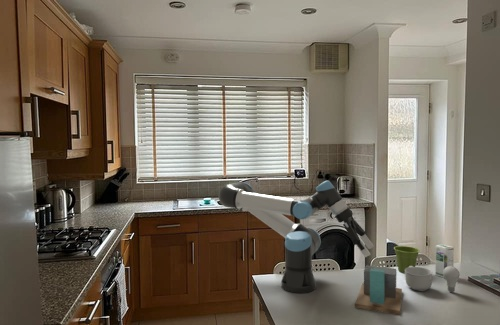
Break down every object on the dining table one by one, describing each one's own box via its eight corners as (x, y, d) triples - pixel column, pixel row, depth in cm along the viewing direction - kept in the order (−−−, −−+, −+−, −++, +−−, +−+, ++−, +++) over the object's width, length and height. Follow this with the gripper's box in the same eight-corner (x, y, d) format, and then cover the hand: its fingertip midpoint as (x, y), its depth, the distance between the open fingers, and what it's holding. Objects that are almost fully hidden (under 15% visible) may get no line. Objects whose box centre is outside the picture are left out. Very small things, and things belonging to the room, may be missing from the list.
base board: (354, 307, 137) (354, 303, 137) (362, 286, 158) (362, 283, 158) (400, 314, 130) (400, 310, 130) (401, 292, 151) (401, 288, 151)
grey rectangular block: (363, 293, 146) (363, 270, 146) (366, 287, 153) (366, 265, 153) (395, 298, 141) (395, 274, 141) (396, 291, 148) (396, 268, 148)
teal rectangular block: (369, 302, 135) (369, 270, 134) (373, 289, 147) (373, 260, 147) (384, 304, 133) (384, 272, 132) (386, 290, 145) (386, 261, 145)
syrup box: (434, 275, 172) (434, 245, 171) (443, 273, 174) (443, 243, 174) (445, 278, 166) (445, 248, 166) (454, 277, 169) (454, 246, 168)
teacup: (435, 294, 149) (435, 275, 149) (407, 292, 151) (407, 273, 151) (425, 282, 163) (426, 264, 162) (400, 280, 165) (400, 263, 165)
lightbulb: (458, 290, 152) (458, 265, 152) (460, 296, 147) (460, 269, 146) (442, 288, 155) (442, 263, 154) (443, 293, 149) (443, 267, 149)
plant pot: (417, 277, 169) (417, 253, 169) (391, 272, 176) (391, 250, 175) (421, 270, 179) (421, 247, 179) (396, 266, 185) (396, 244, 185)
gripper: (343, 211, 150) (374, 255, 146) (352, 203, 173) (379, 240, 168) (328, 220, 153) (358, 263, 148) (339, 211, 176) (365, 248, 171)
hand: (369, 251), depth 158 cm, fingers open, 13 cm apart
